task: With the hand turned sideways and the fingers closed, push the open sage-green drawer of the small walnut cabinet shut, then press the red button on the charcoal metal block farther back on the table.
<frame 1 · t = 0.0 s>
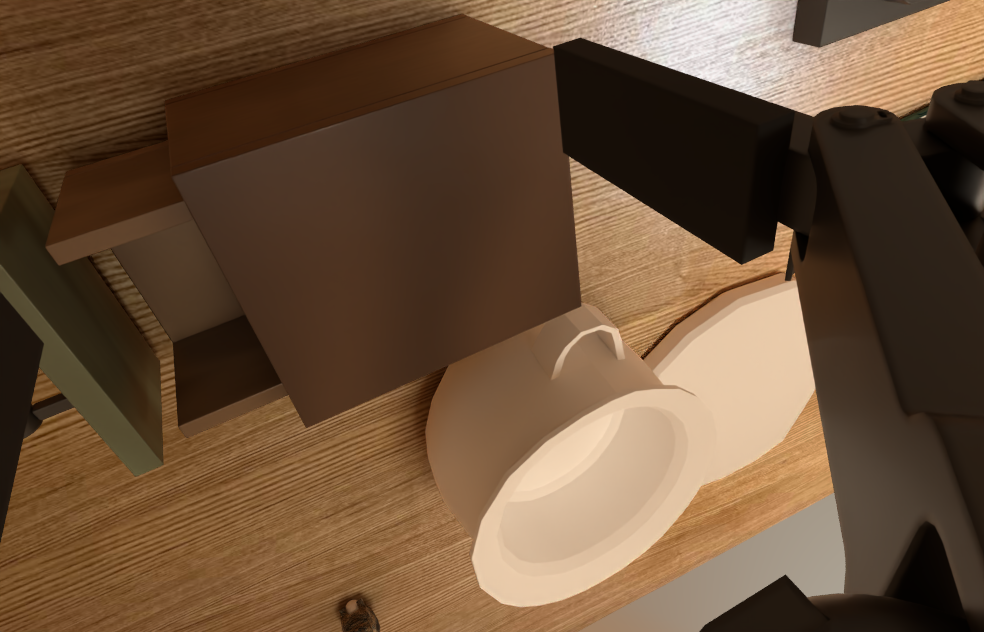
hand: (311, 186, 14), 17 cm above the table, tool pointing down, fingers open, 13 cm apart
pot: (510, 386, 47), on the table
decorative plate: (718, 382, 59), on the table
cat figurine: (358, 611, 54), on the table
cabinet: (361, 175, 32), on the table
drawer: (175, 288, 27), point 5 cm above the table, slide at 6.0 cm
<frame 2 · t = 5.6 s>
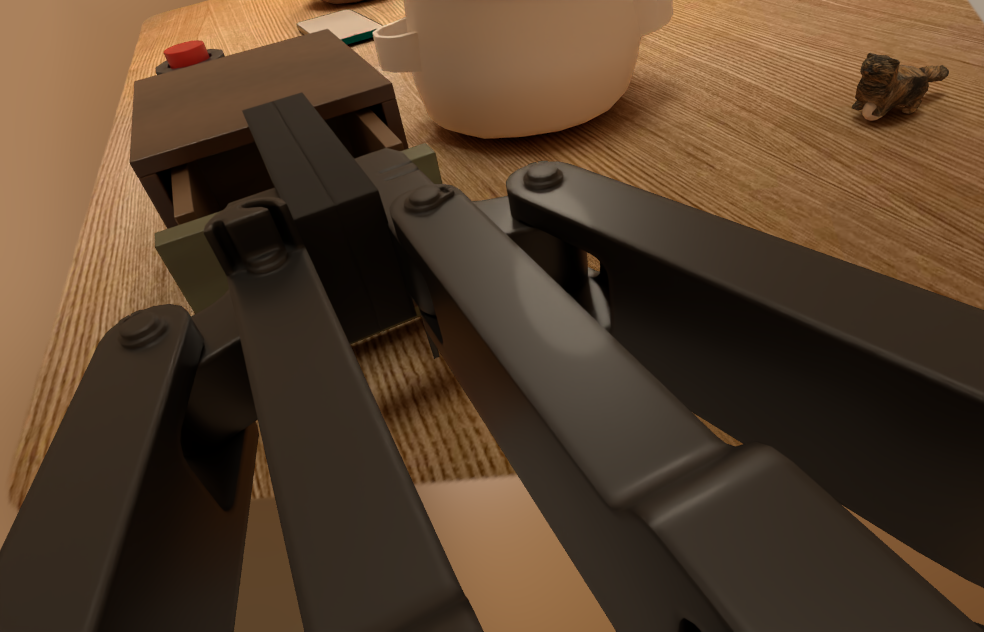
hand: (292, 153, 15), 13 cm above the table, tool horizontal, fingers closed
smartphone: (340, 33, 79), on the table
button block: (206, 98, 66), on the table
pot: (531, 114, 49), on the table
cat figurine: (895, 112, 40), on the table
cabinet: (307, 227, 40), on the table
drawer: (312, 230, 30), point 5 cm above the table, slide at 6.0 cm
button: (187, 55, 63), point 4 cm above the table, slide at 0.1 cm
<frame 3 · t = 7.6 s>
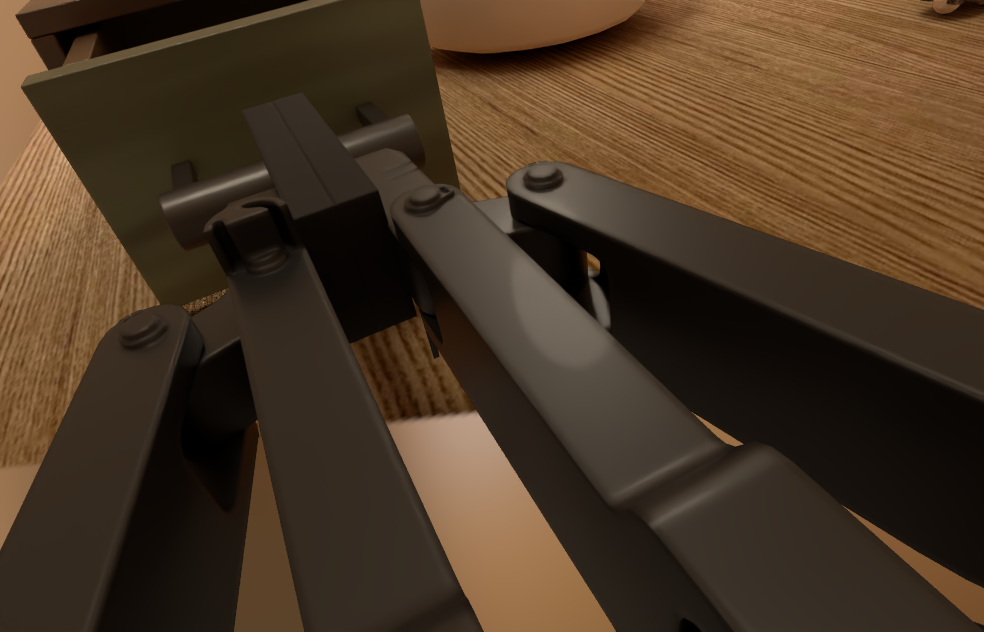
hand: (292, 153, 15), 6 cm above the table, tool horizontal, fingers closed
pot: (535, 36, 43), on the table
cat figurine: (970, 6, 34), on the table
cabinet: (271, 151, 34), on the table
drawer: (263, 116, 23), point 5 cm above the table, slide at 5.9 cm, touching gripper
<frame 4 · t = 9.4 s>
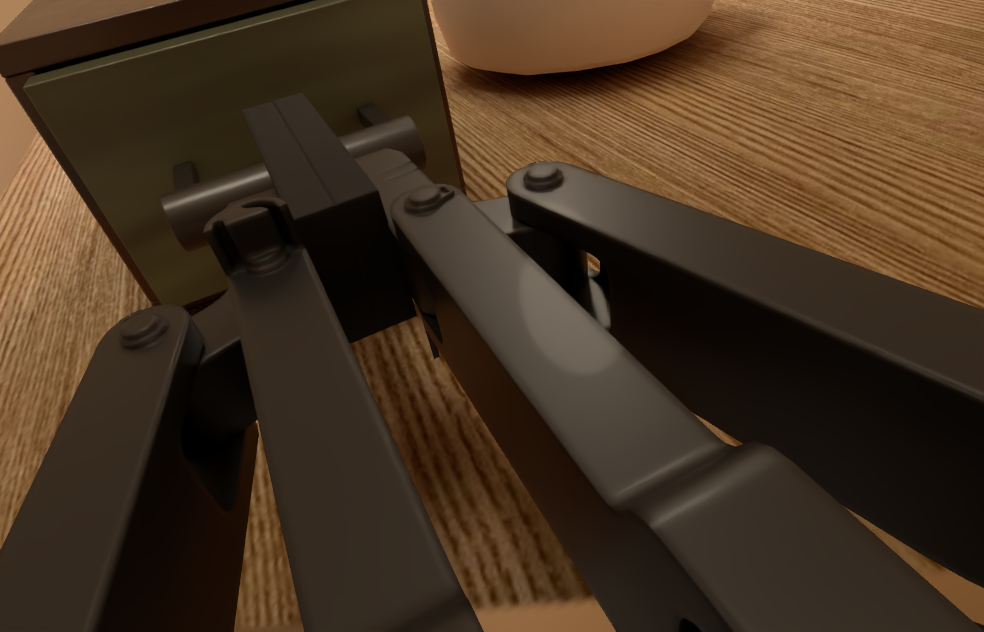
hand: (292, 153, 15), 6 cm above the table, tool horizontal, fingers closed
pot: (580, 53, 39), on the table
cabinet: (291, 190, 29), on the table
drawer: (264, 116, 23), point 5 cm above the table, slide at 0.1 cm, touching gripper
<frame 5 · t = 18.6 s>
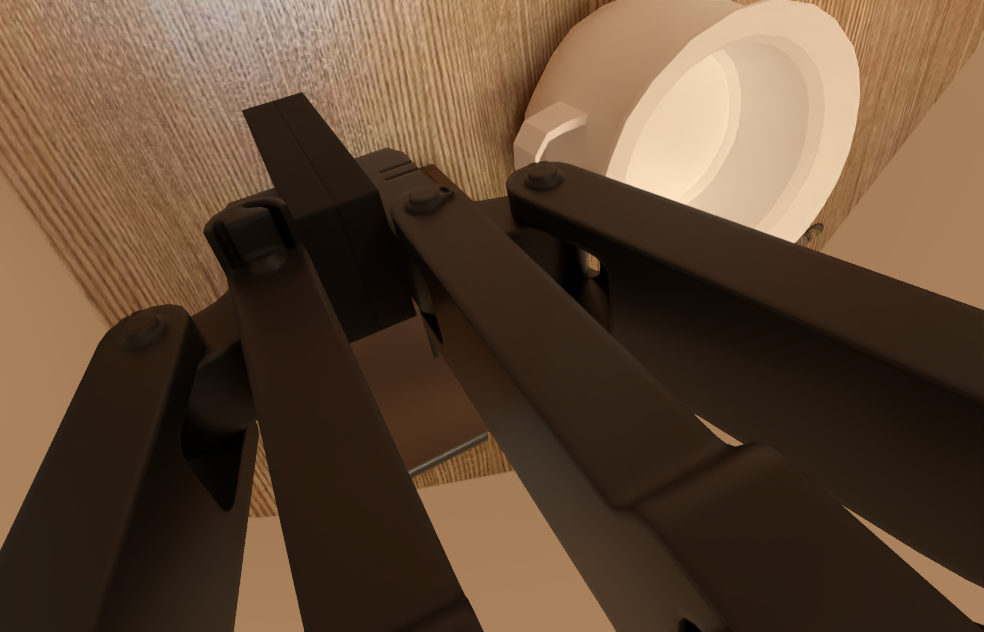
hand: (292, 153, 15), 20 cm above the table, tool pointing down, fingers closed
pot: (611, 113, 43), on the table
cat figurine: (777, 234, 59), on the table
cabinet: (375, 290, 42), on the table
drawer: (412, 371, 41), point 5 cm above the table, slide at 0.1 cm
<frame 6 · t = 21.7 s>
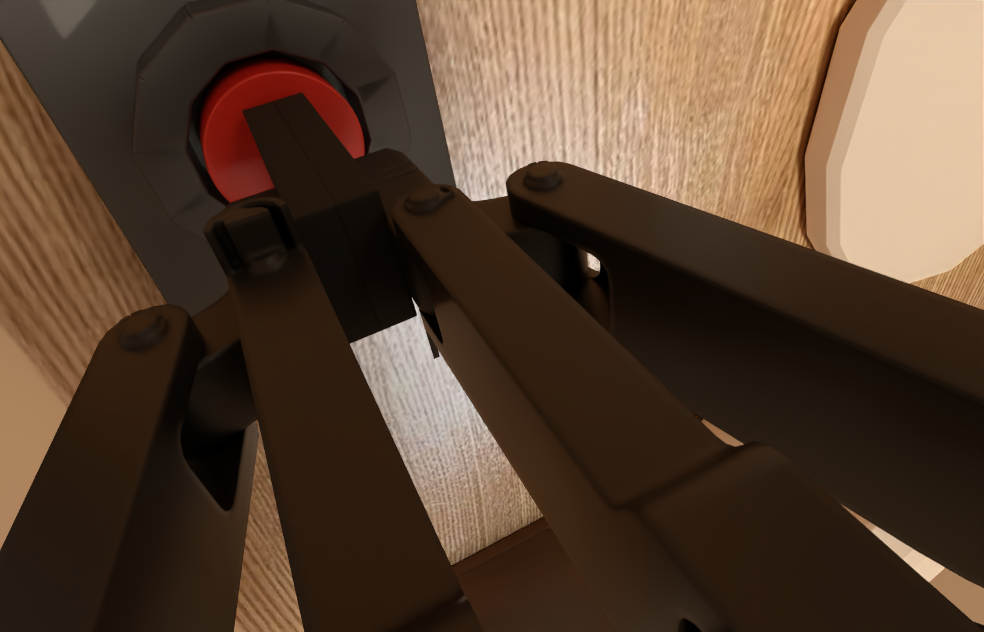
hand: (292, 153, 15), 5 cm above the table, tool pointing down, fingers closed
button block: (262, 105, 19), on the table
pot: (753, 413, 44), on the table
decorative plate: (965, 69, 34), on the table
cabinet: (521, 592, 43), on the table
button: (283, 142, 16), point 4 cm above the table, slide at -0.6 cm, touching gripper
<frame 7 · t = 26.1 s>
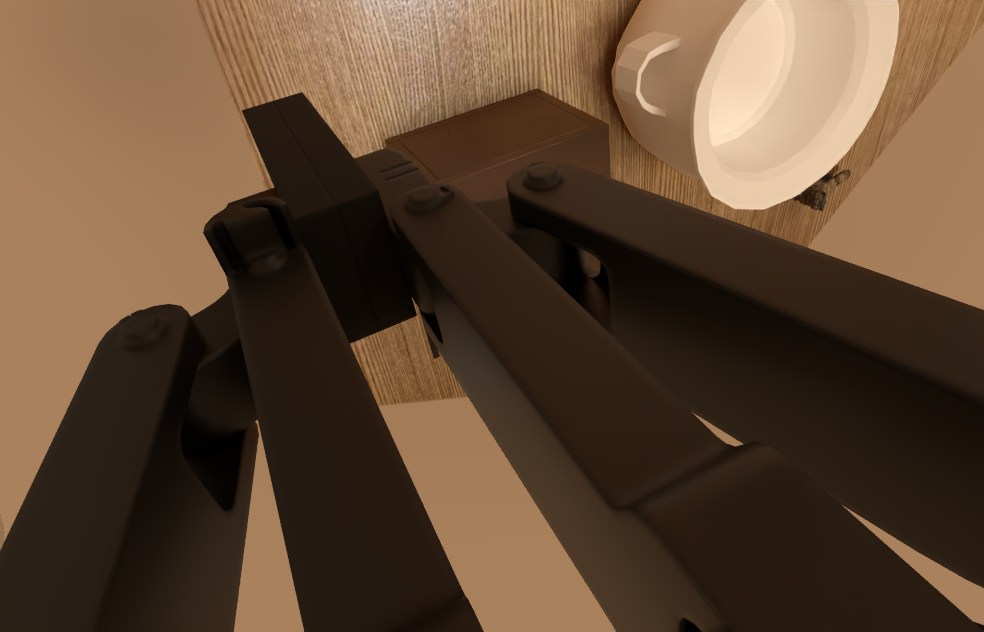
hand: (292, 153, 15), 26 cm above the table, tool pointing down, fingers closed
pot: (681, 55, 51), on the table
cat figurine: (809, 179, 67), on the table
cabinet: (480, 200, 50), on the table
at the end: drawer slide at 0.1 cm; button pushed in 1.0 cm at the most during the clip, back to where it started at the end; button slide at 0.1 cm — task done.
